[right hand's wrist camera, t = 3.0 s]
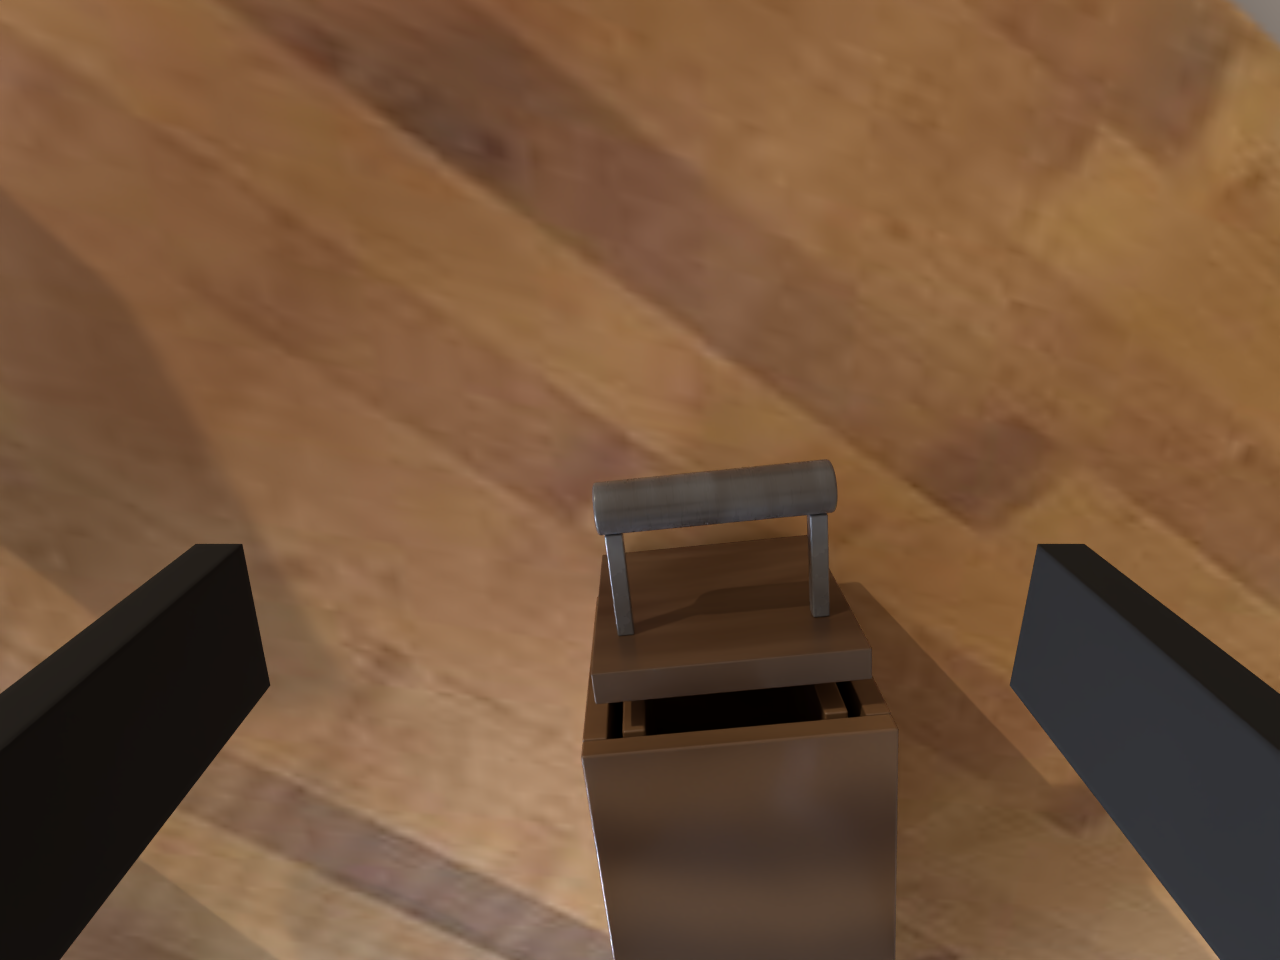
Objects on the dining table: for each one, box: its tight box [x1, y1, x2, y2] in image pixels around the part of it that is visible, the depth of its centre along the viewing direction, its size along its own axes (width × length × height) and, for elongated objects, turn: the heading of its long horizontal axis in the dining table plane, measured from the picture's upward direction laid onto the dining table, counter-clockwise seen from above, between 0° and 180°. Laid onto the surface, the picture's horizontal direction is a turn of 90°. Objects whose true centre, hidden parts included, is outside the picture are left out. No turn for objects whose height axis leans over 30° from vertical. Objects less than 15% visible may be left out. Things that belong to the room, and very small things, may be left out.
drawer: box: [591, 459, 872, 738], centre depth 31 cm, size 24×9×9 cm, turn 6°
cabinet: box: [581, 597, 898, 960], centre depth 33 cm, size 19×10×11 cm, turn 6°
